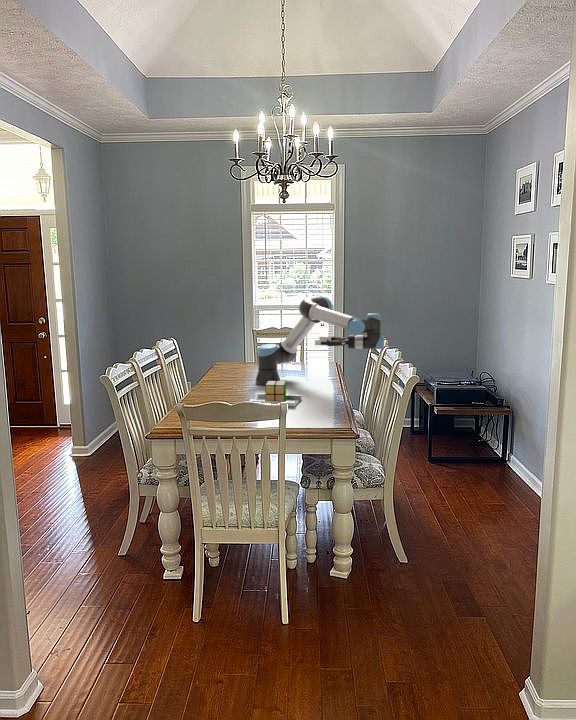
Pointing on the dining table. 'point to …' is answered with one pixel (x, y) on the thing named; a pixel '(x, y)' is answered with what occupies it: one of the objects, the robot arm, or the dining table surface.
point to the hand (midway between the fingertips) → (317, 340)
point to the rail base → (290, 399)
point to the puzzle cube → (275, 390)
